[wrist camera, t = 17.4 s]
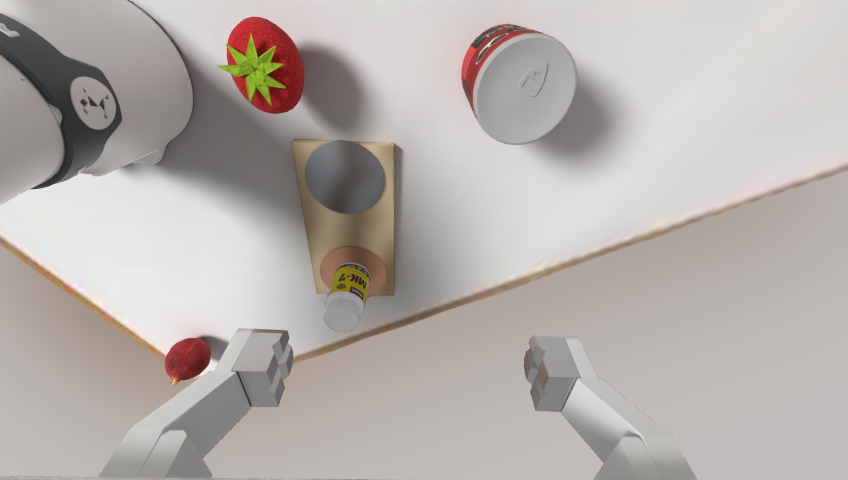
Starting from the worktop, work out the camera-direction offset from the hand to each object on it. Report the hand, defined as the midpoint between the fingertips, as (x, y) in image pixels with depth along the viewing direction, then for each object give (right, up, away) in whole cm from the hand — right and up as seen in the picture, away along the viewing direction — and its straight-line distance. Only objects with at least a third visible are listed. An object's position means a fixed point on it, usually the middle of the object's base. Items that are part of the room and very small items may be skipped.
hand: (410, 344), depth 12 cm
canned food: (+8, +21, +24) cm, 33 cm away
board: (-9, +5, +34) cm, 35 cm away
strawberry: (-13, +21, +23) cm, 34 cm away
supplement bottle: (-9, -1, +37) cm, 38 cm away
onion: (-36, -13, +46) cm, 60 cm away
